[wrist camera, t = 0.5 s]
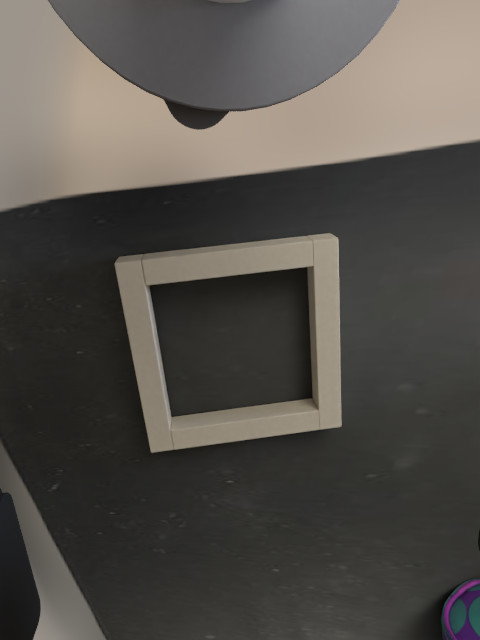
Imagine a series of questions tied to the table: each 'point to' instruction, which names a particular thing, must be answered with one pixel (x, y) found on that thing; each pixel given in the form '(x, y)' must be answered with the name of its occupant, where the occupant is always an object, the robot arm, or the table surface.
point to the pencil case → (462, 612)
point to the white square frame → (221, 262)
